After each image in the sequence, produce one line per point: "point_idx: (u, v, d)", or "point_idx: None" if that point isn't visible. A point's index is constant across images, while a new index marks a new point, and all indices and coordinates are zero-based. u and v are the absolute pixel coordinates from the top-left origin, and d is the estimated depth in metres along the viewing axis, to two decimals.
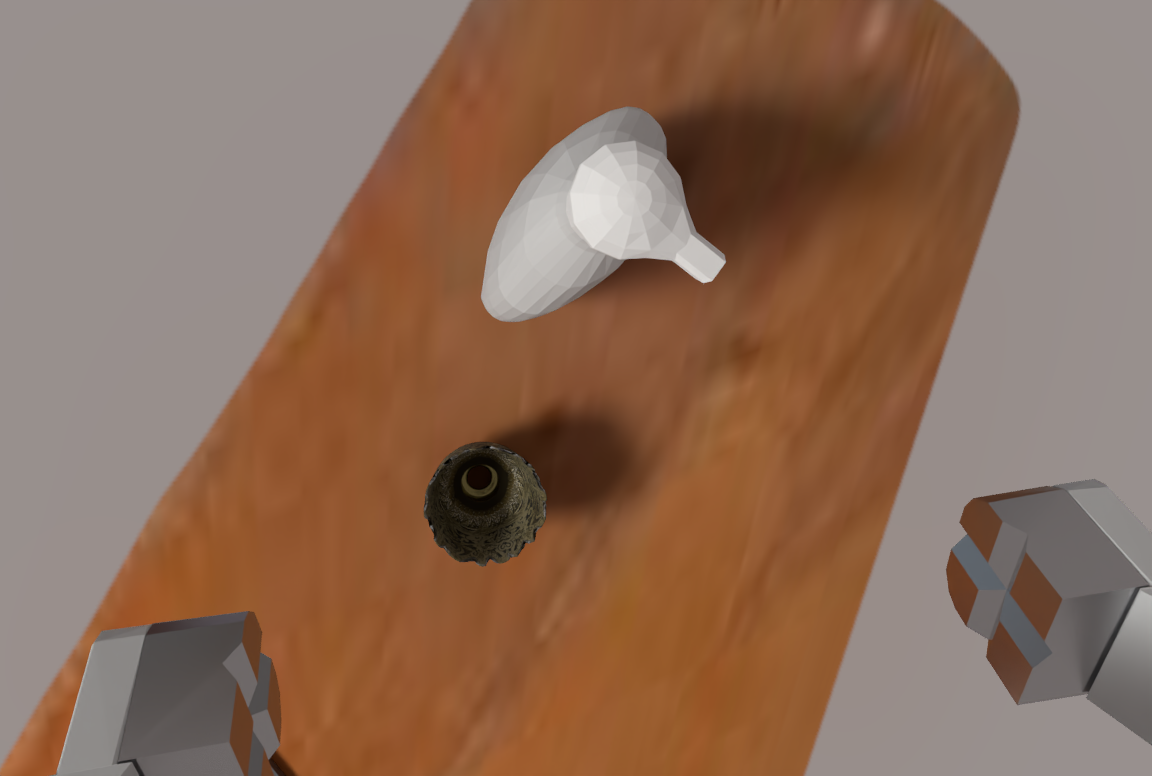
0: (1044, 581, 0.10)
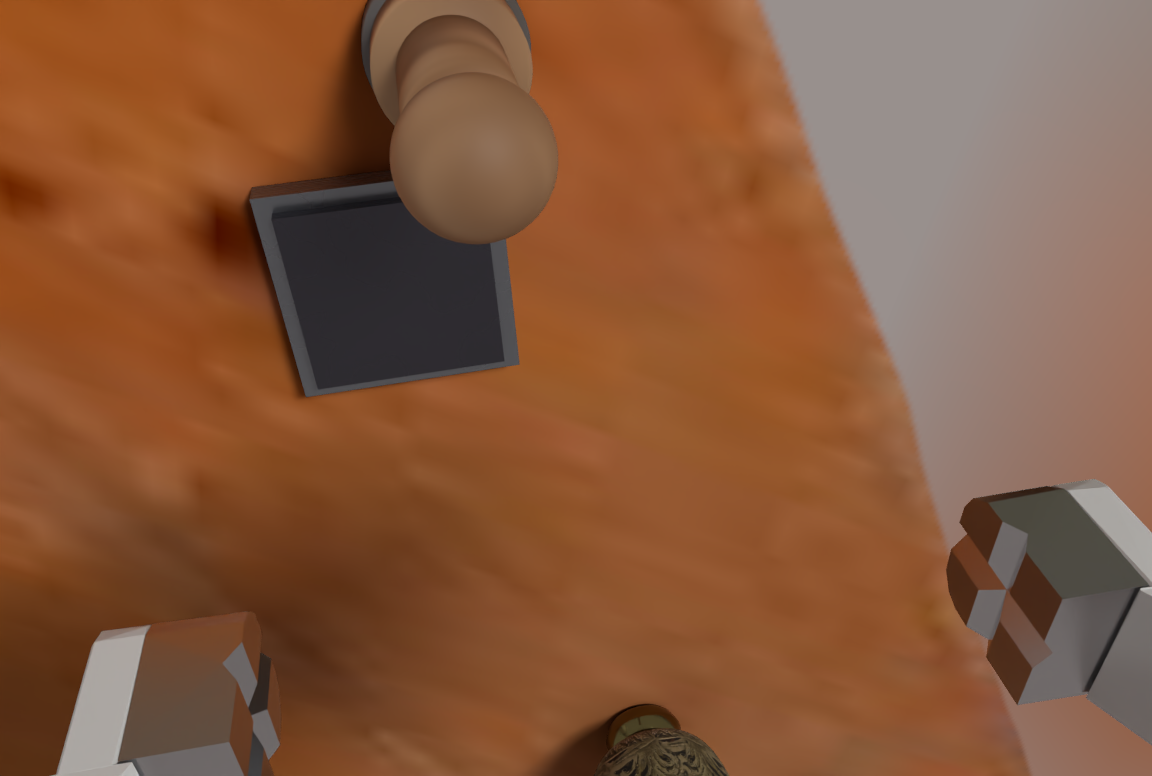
0: (1044, 581, 0.10)
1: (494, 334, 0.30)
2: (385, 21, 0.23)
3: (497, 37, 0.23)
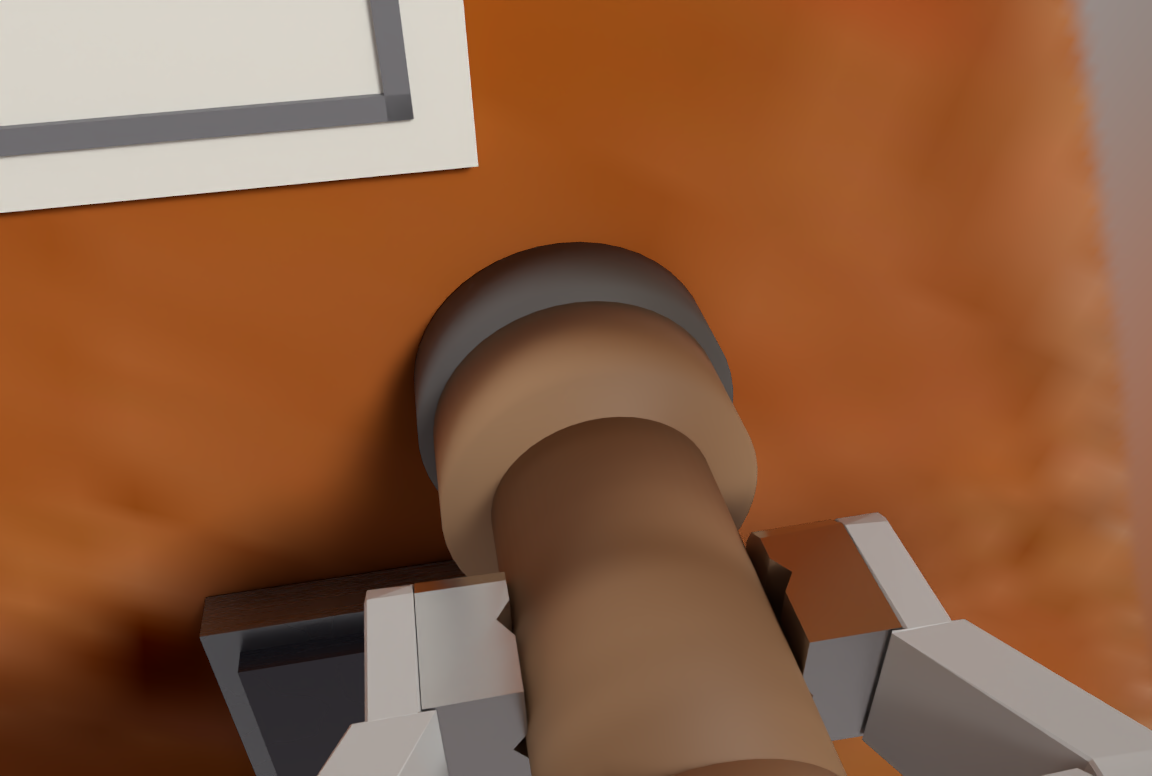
0: (798, 622, 0.09)
1: None
2: (479, 433, 0.11)
3: (700, 449, 0.11)
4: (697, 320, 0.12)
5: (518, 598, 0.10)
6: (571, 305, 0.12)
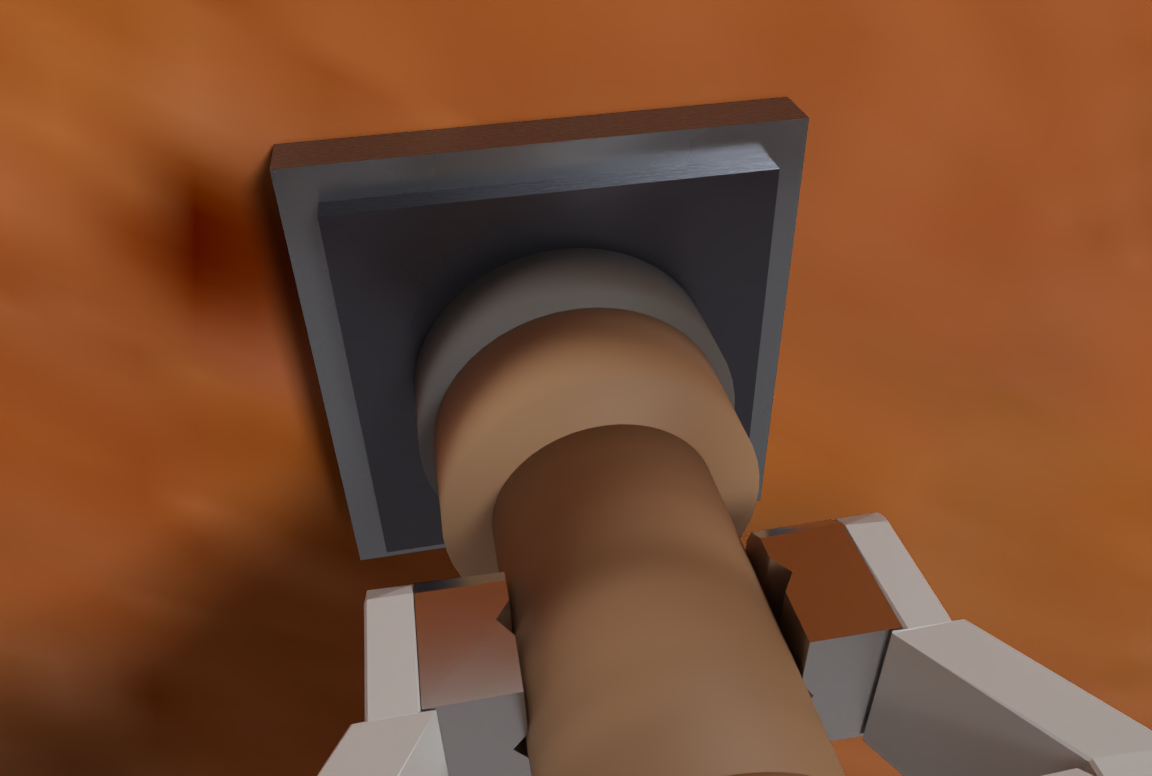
0: (798, 622, 0.09)
1: None
2: (480, 441, 0.11)
3: (702, 456, 0.11)
4: (699, 326, 0.12)
5: (519, 607, 0.10)
6: (571, 311, 0.12)
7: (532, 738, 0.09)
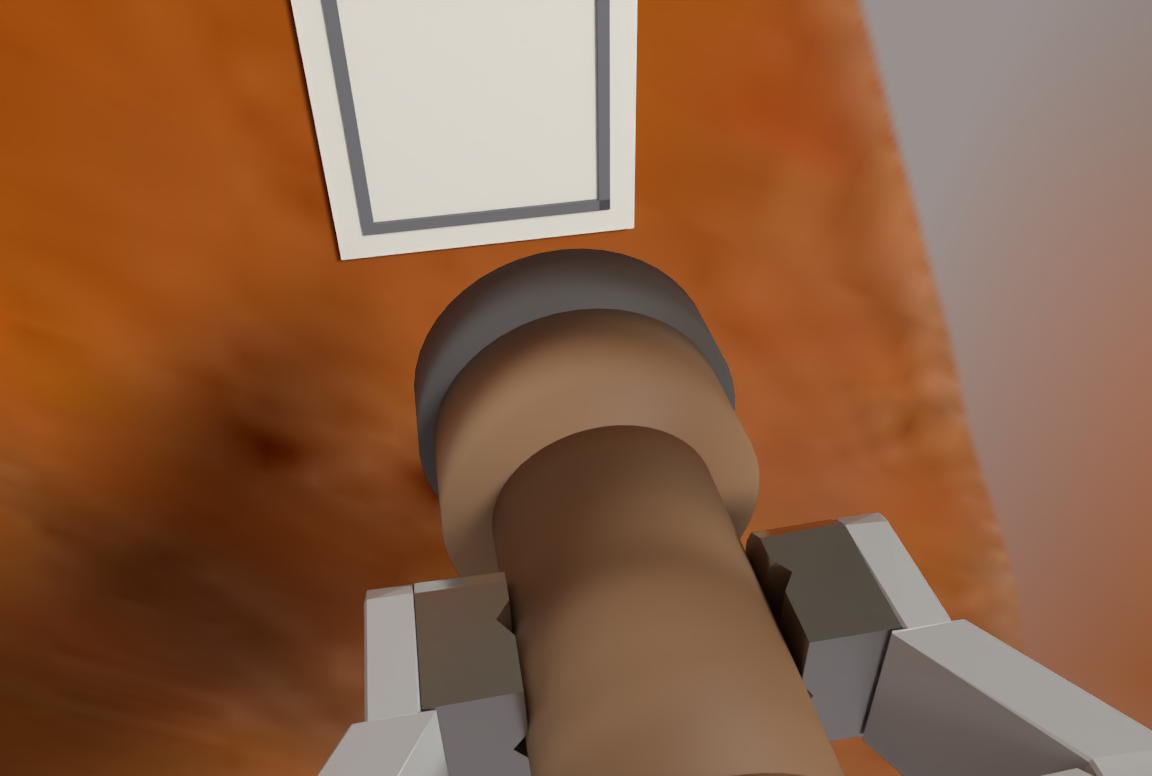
0: (798, 622, 0.09)
1: None
2: (480, 441, 0.11)
3: (702, 457, 0.11)
4: (699, 327, 0.12)
5: (519, 608, 0.10)
6: (572, 312, 0.12)
7: (532, 739, 0.09)
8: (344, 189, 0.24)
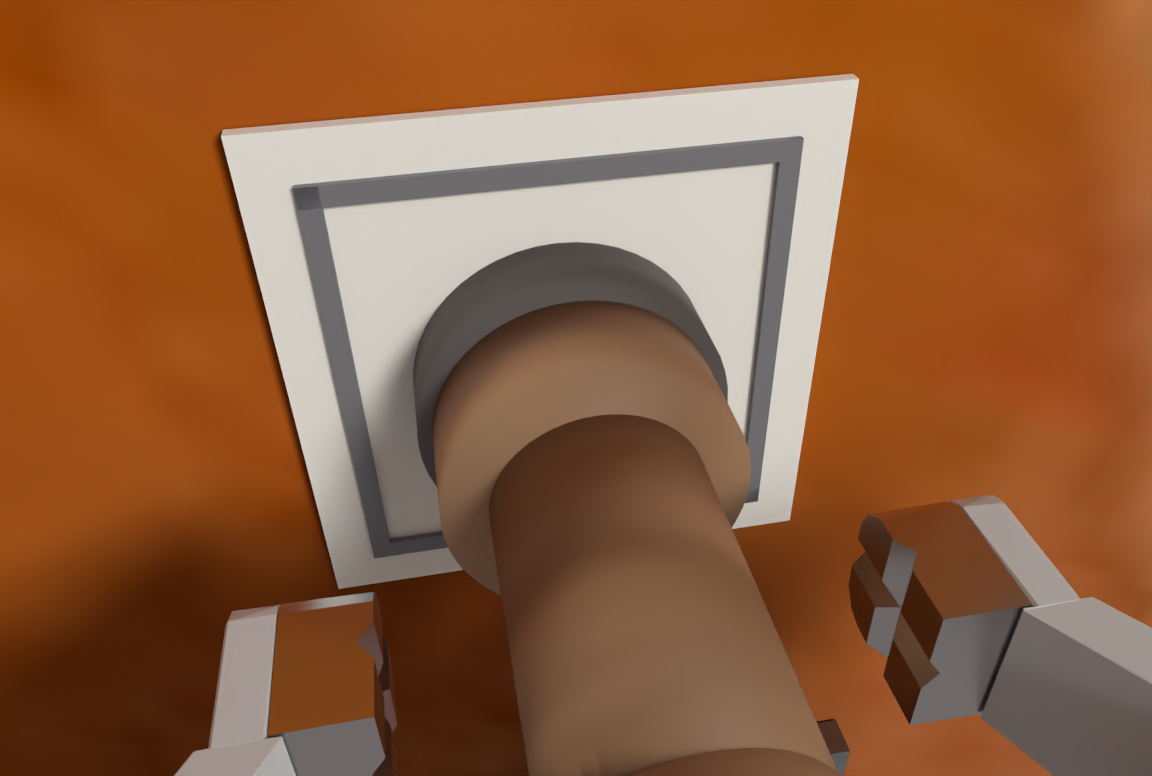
0: (928, 601, 0.10)
1: None
2: (477, 430, 0.11)
3: (694, 446, 0.12)
4: (692, 319, 0.13)
5: (515, 592, 0.10)
6: (568, 304, 0.12)
7: (526, 718, 0.09)
8: (344, 500, 0.15)
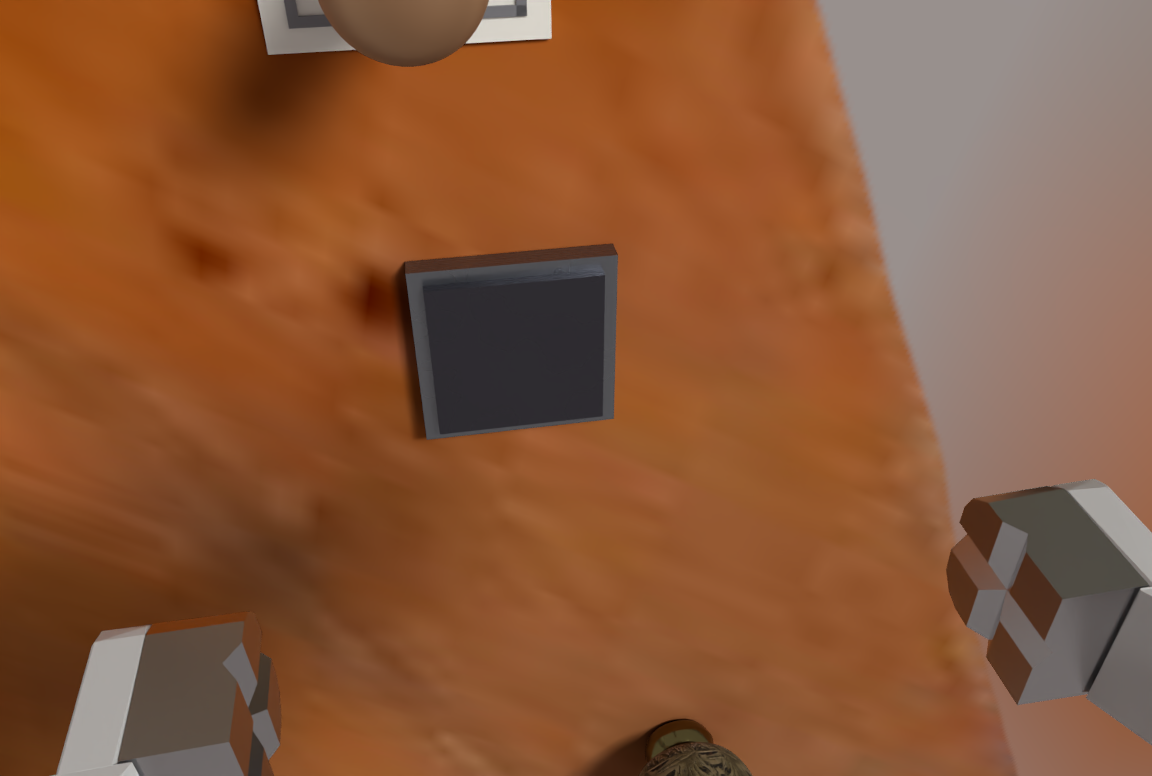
0: (1044, 581, 0.10)
1: (597, 393, 0.34)
2: None
3: None
4: None
5: None
6: None
7: None
8: None
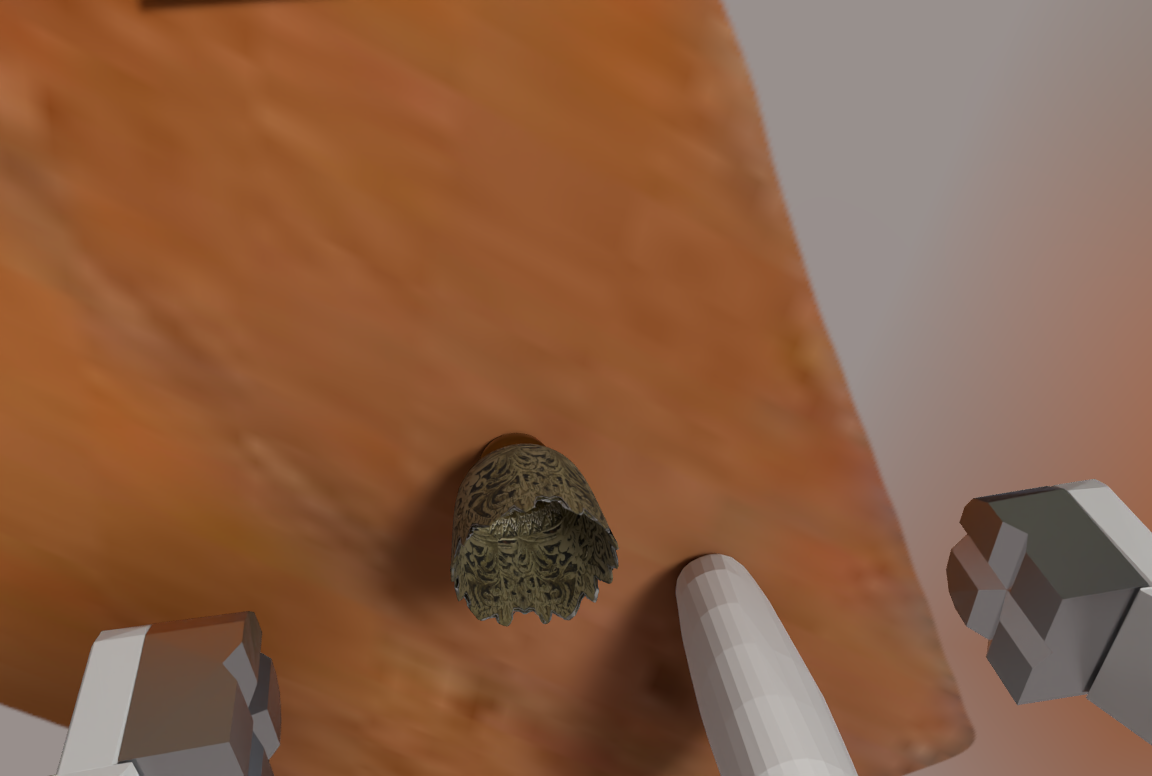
0: (1044, 581, 0.10)
1: None
2: None
3: None
4: None
5: None
6: None
7: None
8: None
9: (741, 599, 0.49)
